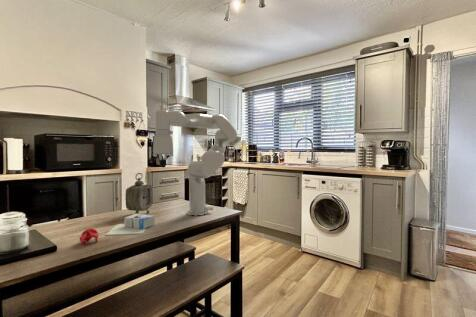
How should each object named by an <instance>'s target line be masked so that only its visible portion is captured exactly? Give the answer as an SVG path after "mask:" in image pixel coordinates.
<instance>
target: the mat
mask: <svg viewBox="0 0 476 317" xmlns="http://www.w3.org/2000/svg"><path fill="white" fill-rule="evenodd" d="M146 230H147V228H145V229H139V228H131V227H124V223H121V224H120V223H119V224H116V225H114V226H113V228H112V229H110V230H109V231H108V232H107V233H105V236H106V237H107V236H125V235H127V236H128V235H143V234H144V233H145V231H146Z"/></svg>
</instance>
